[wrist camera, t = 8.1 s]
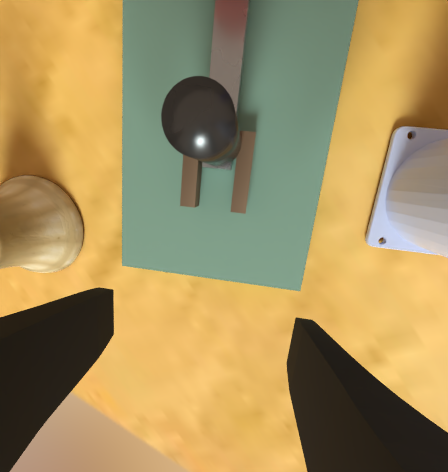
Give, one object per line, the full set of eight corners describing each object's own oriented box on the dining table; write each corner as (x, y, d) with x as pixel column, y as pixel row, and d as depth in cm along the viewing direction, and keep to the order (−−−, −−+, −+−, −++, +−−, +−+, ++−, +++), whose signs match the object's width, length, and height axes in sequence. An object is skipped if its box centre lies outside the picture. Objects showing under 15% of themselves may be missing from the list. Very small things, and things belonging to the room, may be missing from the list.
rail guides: (255, 136, 16) (255, 131, 14) (245, 211, 17) (245, 213, 16) (190, 129, 16) (185, 125, 15) (185, 203, 17) (180, 205, 16)
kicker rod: (275, -21, 13) (303, -239, 6) (250, 172, 16) (251, 166, 9) (199, -24, 14) (147, -235, 7) (187, 165, 16) (140, 154, 9)
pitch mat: (371, -91, 13) (381, -113, 12) (297, 285, 19) (300, 291, 18) (131, -96, 14) (123, -116, 13) (128, 261, 20) (122, 265, 19)
